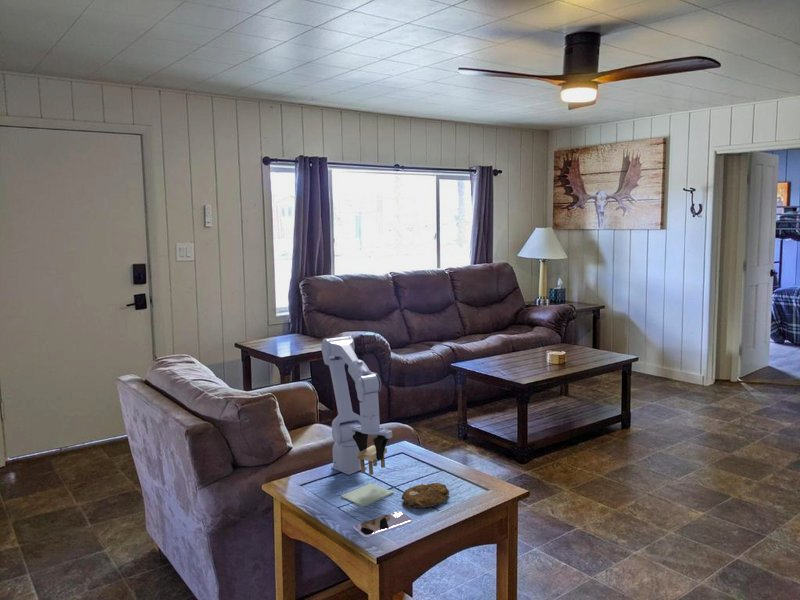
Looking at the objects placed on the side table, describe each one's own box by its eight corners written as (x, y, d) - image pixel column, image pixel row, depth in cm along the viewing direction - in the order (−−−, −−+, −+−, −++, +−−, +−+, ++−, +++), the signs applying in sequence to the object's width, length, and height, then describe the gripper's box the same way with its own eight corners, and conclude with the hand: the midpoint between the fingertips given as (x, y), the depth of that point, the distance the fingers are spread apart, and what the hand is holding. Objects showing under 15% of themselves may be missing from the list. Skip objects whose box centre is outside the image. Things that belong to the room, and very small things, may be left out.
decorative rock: (431, 488, 188) (394, 506, 178) (430, 475, 188) (393, 493, 178) (459, 497, 180) (422, 517, 170) (457, 484, 179) (420, 502, 170)
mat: (340, 497, 183) (340, 495, 183) (371, 484, 192) (371, 483, 192) (362, 507, 176) (362, 505, 176) (393, 493, 184) (393, 491, 184)
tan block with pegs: (358, 472, 186) (356, 453, 185) (373, 463, 193) (372, 445, 192) (372, 475, 183) (371, 456, 182) (388, 466, 190) (386, 447, 189)
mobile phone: (351, 524, 165) (399, 509, 173) (351, 528, 165) (399, 512, 173) (365, 536, 158) (414, 519, 166) (365, 539, 158) (414, 522, 166)
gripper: (397, 413, 185) (399, 457, 187) (358, 407, 193) (360, 449, 195) (383, 420, 179) (385, 465, 181) (344, 413, 187) (346, 457, 189)
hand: (372, 457), depth 187 cm, fingers closed on tan block with pegs, 5 cm apart
